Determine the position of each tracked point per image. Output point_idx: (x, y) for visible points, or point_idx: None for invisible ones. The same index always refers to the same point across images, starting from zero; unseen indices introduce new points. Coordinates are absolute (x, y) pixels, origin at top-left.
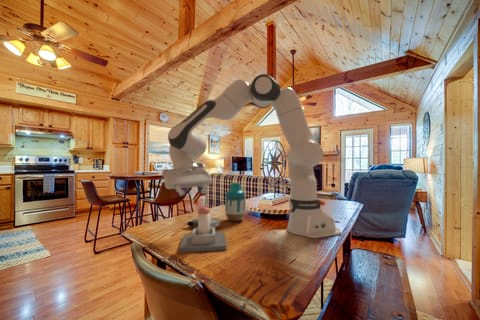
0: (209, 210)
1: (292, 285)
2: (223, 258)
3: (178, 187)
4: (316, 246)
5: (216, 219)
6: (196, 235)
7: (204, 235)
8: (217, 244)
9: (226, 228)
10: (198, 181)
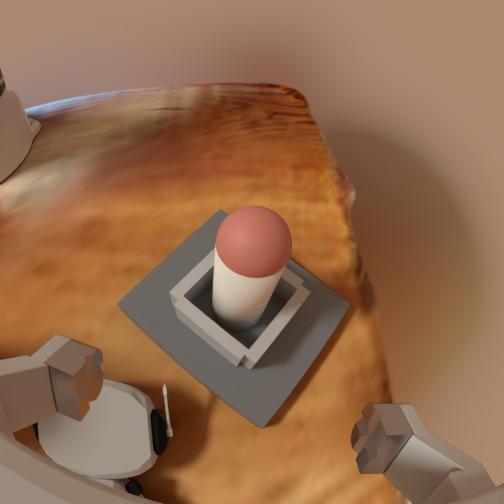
0: (228, 215)
1: (243, 92)
2: (263, 194)
3: (460, 459)
4: (80, 109)
5: None
6: (295, 277)
7: None
8: None
9: None
10: (26, 456)
